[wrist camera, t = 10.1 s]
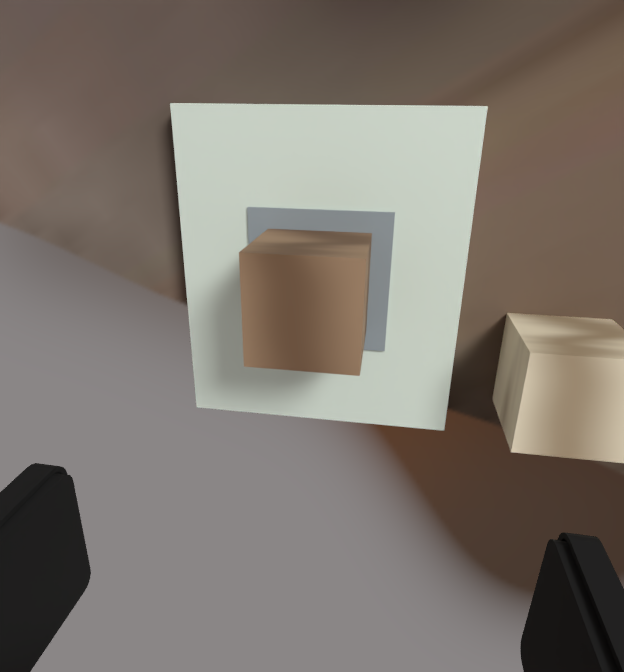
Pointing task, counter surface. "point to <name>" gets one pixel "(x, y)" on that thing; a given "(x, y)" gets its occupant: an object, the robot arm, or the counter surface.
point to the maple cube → (562, 387)
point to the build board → (340, 216)
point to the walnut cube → (305, 300)
